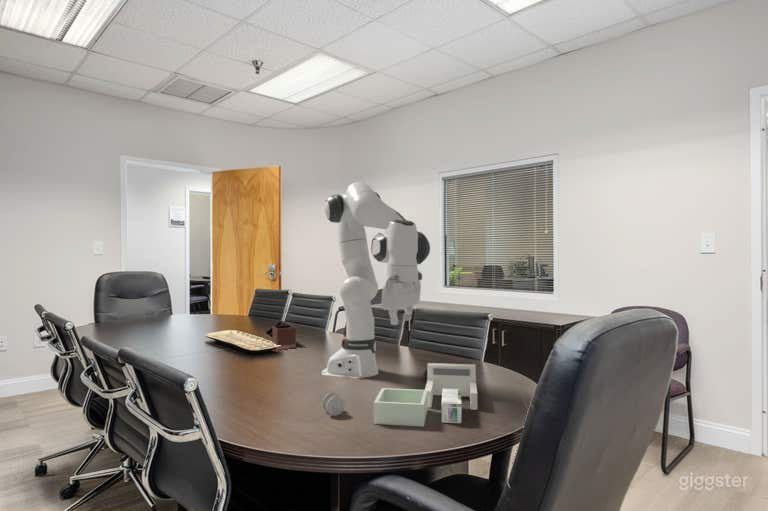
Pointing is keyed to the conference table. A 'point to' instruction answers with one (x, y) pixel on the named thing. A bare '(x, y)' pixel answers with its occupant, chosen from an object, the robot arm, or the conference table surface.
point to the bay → (451, 381)
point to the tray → (400, 407)
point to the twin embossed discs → (333, 404)
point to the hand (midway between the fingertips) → (401, 322)
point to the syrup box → (451, 406)
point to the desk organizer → (282, 335)
